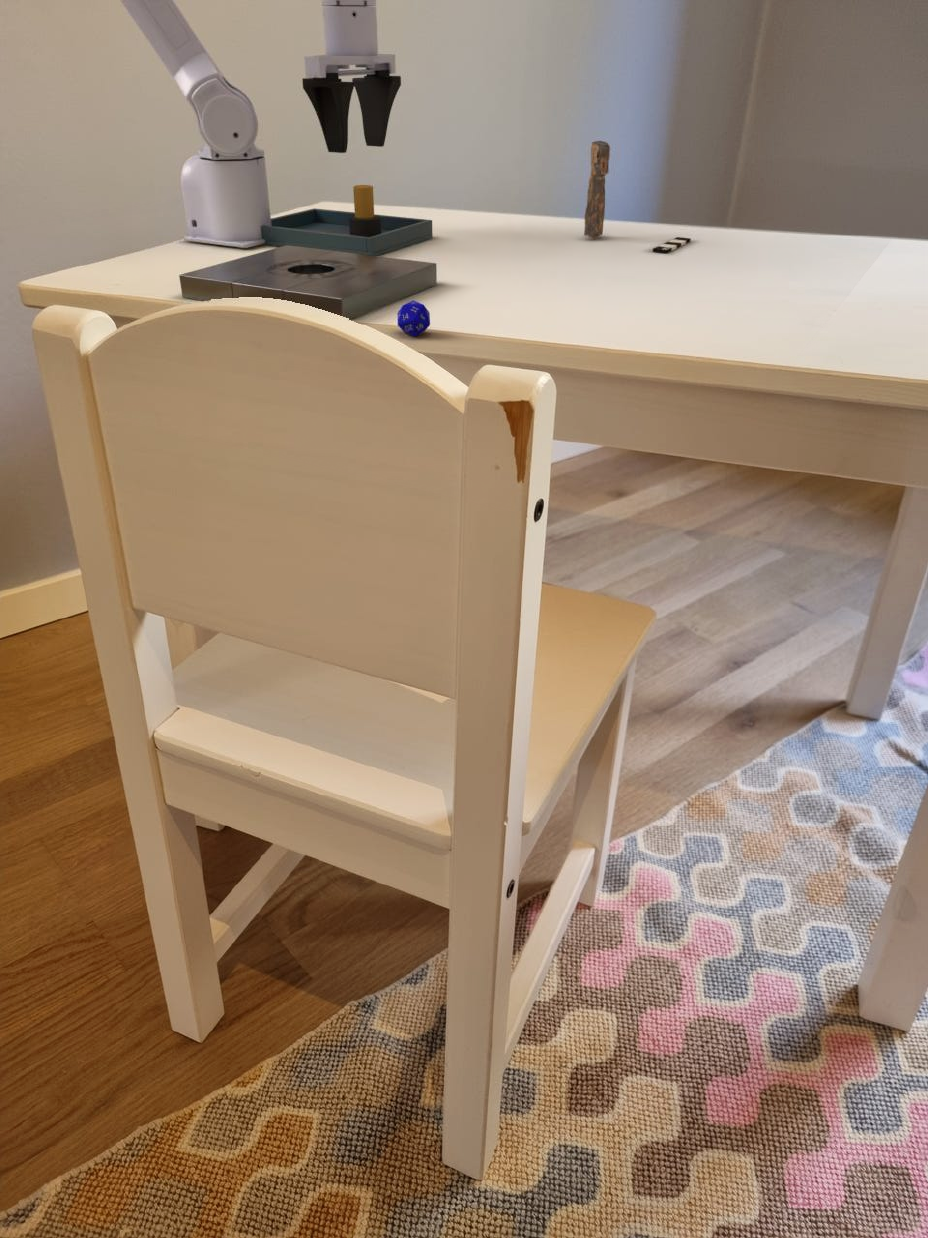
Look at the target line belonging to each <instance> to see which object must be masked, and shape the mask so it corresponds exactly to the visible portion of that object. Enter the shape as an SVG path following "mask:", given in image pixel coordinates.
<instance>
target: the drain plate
mask: <svg viewBox="0 0 928 1238" xmlns="http://www.w3.org/2000/svg"><path fill="white" fill-rule="evenodd" d="M437 271H438V270H437V263H436V262H429V261H421V260H411V259H404V258H396V257H387V256H381V255H379V256H372V255H364V254H356V253H347V252H339V251H331V250H323V249H314V248H306V247H298V246H290V245H286V246H282V247H279V246H278V247H275V248H272V249H271V248H270V249H269V250H265V251H261V252H257V253H254V254H250V255H246V256H243V257H240V258H235V259H232V260H228V261H225V262H221V263H217V264H214V265H211V266H207V267H203V268H199V269H195V270H192V271H189V272H185V273H181V274H179V275H178V277H179V283H180V290H181V297H182V298H185V299H192V300H198V301H204V300H211V299H222V298H239V297H262V298H273V299H281V300H287V301H292V302H295V303H300V304H305V305H309V306H312V307H315V308H318V309H322V310H325V311H328V312H331V313H334V314H337V315H340V316H343V317H346V318H349V319H350V320H353V319H356V318H358V317H360V316H363V315H365V314H368V313H370V312H373V311H375V310H377V309H380V308H382V307H385V306H386V305H390V304H392V303H396V302H397V301H400V300H402V299H404V298H407V297H409V296H412V295H414V294H417V293H419V292H422V291H425V290H427V289H430V288H432V287H434V286H437V284H438V282H437V281H438V278H437V274H438V273H437Z"/></svg>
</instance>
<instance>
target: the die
mask: <svg viewBox="0 0 928 1238" xmlns="http://www.w3.org/2000/svg"><path fill="white" fill-rule="evenodd" d="M397 326H398V328H400V330H401V331H402V333H404V334H407V335H409V336H411V337H413V338H415V337H418V336H419V335H422V334H423V333H425V332H426V331H427V329H428V328H429V327H430V326H431V314H430V311H429V310H428V309H427V307H426V305H425V304H423V303H421V302H418V301H416V300H411V301H408V302H406V303H404V304H403V305H402V306H401V307H400V309H399V310H398V311H397Z"/></svg>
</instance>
